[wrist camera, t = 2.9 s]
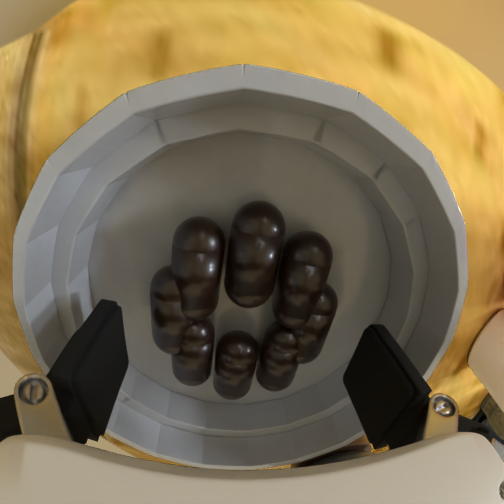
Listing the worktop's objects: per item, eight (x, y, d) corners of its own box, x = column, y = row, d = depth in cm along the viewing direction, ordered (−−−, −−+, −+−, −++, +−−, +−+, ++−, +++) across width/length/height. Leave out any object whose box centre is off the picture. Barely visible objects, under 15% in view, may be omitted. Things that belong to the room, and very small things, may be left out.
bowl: (75, 97, 8) (3, 84, 4) (438, 157, 10) (511, 173, 6) (99, 387, 14) (79, 441, 10) (343, 405, 16) (363, 456, 12)
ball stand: (281, 403, 15) (314, 572, 4) (396, 392, 16) (455, 512, 5) (257, 459, 18) (270, 571, 7) (350, 449, 19) (381, 544, 9)
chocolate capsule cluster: (160, 184, 9) (145, 192, 7) (351, 211, 10) (372, 225, 8) (160, 372, 12) (154, 398, 11) (296, 382, 13) (303, 407, 12)
